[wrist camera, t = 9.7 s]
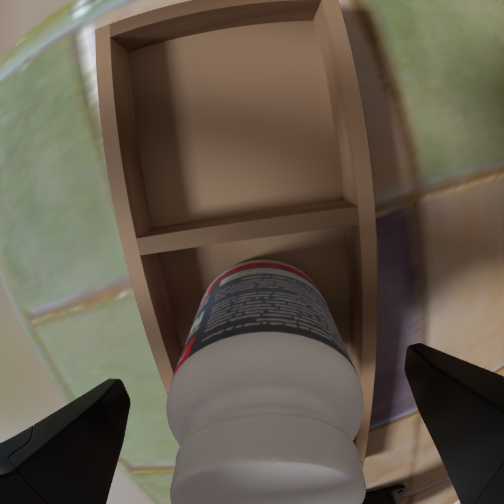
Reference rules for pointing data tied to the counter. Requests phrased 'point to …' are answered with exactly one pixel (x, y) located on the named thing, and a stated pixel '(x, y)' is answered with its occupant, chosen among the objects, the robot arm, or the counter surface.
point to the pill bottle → (265, 396)
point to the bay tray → (240, 162)
